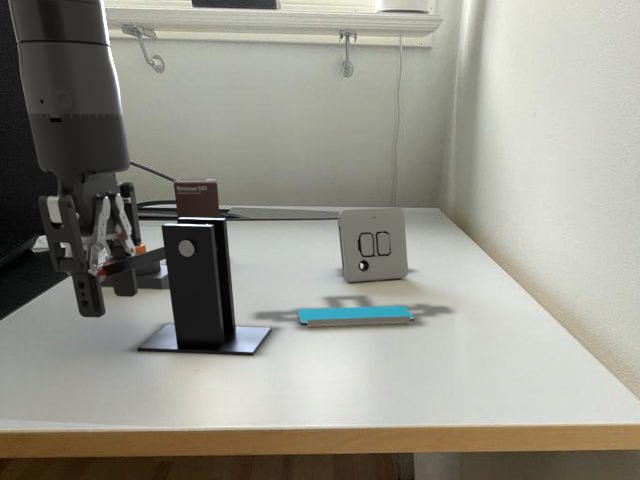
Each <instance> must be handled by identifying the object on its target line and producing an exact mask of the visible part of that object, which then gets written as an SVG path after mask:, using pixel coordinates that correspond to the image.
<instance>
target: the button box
mask: <svg viewBox="0 0 640 480" xmlns="http://www.w3.org/2000/svg"><path fill="white" fill-rule="evenodd" d="M111 257H113V256H109V255H107V256H105V258H104V259H105V261H108V260H109V258H111ZM135 276H136V282H137V289H145V290H146V289H149V290H170V288H169V280H168V273H167V265H166V264H161V261H158V262H154V263H151V264H148V265H145V266H141V267H138V268H135ZM100 283H101V288H102V287H106V288H113V282H112V277H110V278H108V279H106V280H104V281H102V282H100Z"/></svg>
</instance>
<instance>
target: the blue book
mask: <svg viewBox="0 0 640 480" xmlns="http://www.w3.org/2000/svg"><path fill="white" fill-rule="evenodd" d="M297 314H298V317H299V321H300V323H301V324H307V327H308V328H323V327H324V328H328V327H351V326H352V327H353V326H382V325H405V324H407V325H409V324H410V323H412V322H413V319H414V318H415V317H414V315H413V314H412V313H411V312H410V310H409V309H408V308H407V307H406V306H405V305H384V306H383V305H382V306H352V307H349V306H348V307H323V308H299V309H298V310H297Z"/></svg>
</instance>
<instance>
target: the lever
mask: <svg viewBox="0 0 640 480" xmlns="http://www.w3.org/2000/svg"><path fill="white" fill-rule="evenodd" d="M205 225H210V224H209V223H208V224H205ZM215 244H216V251H218V250H219V248H218V245H217V242H216V240H215ZM164 260H166V257H165V250H164V246H161V247H158V248H155V249H151V250H148V251H146V252H145V253H142V254H138V255H135V256H132V257H129V258H126V259H122V260H119V261H117V260H115V259H110V260H108V261H106V260H105V261H103V262H101V263H98V271H97V274H99V278H100V282H102V281H104V280H106V279H108V278H110V277H112V276H114V275H116V274H119V273H122V272H125V271H128V270H132V269H135V268H138V267H141V266H145V265H148V264H151V263H154V262H158V261H160V262H161V261H164Z"/></svg>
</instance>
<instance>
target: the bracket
mask: <svg viewBox="0 0 640 480" xmlns="http://www.w3.org/2000/svg"><path fill="white" fill-rule="evenodd" d="M208 223H209V224H210V225H205V224H208ZM160 226H161V234H162V241H163V247H164V250H165V257H166V259H165V265H167V273H168V280H169V288H170V289H169V296H170V301H171V309H172V317H173V323H166V325H164V326H162V327H161V328H160V329H159V330H158V331H157V332H155V333H154V334H153V335H152V336H150V337H149V338H148V339H146V340H145V341H144V342H143V343H142V344H140V345H139V346H138V347H137V349H136V350H137V352H147V353H148V352H149V353H150V352H151V353H171V354H172V353H174V354H175V353H177V354H198V355H199V354H200V355H201V354H203V355H225V356H227V355H228V356H251V357H253V356H254V355H255V354H256V352H258V350H259V349H260V348H261V346H262V344H264V342H265V340H266V339H267V338H268V336H269V335H270V334H271V332H272V329H273V328H272V327H262V326H261V327H260V326H236V316H235V304H234V303H235V302H234V292H233V282H232V270H231V268H232V267H231V257H230V247H229V235H228V223H227V218H225V217H220V218H183V217H181V218H178V217H177V218H176V223H163V224H162V225H160ZM215 240H216V242H217V245H218V248H219V250H218V251H216V244H215Z"/></svg>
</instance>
